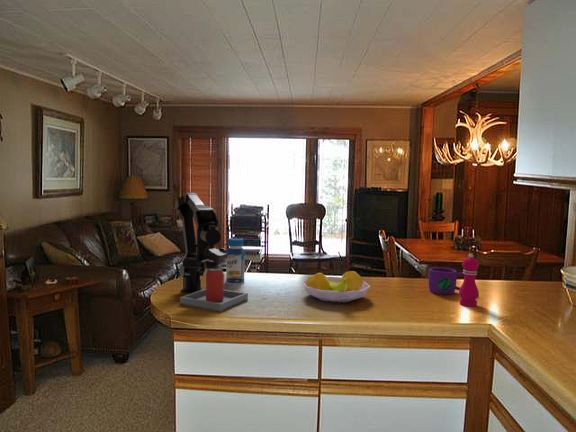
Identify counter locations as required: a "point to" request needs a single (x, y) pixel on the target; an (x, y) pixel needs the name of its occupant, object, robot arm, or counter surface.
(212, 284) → the beer can
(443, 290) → the mug
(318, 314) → the counter surface
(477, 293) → the pepper mill
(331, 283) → the fruit bowl
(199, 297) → the tray
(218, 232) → the robot arm
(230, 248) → the beverage bottle
